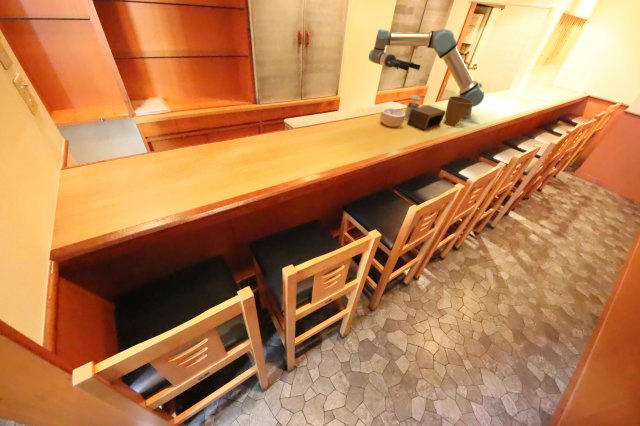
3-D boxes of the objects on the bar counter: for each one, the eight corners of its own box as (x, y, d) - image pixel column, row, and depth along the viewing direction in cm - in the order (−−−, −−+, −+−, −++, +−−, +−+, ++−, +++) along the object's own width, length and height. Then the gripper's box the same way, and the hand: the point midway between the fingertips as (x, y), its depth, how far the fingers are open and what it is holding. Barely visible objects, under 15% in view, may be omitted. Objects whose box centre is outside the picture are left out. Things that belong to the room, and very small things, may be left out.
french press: (417, 118, 174) (430, 79, 158) (414, 122, 166) (428, 82, 150) (403, 115, 177) (415, 76, 161) (400, 119, 168) (412, 79, 152)
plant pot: (436, 122, 170) (446, 98, 160) (443, 118, 179) (453, 95, 169) (458, 129, 163) (469, 104, 153) (464, 124, 172) (475, 100, 162)
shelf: (423, 119, 172) (428, 105, 166) (439, 126, 165) (445, 111, 158) (407, 124, 163) (412, 108, 156) (423, 131, 155) (429, 115, 149)
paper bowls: (376, 125, 156) (379, 112, 151) (381, 118, 167) (384, 106, 162) (400, 130, 152) (404, 117, 147) (403, 123, 163) (407, 111, 158)
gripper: (396, 66, 177) (421, 73, 166) (375, 66, 163) (401, 75, 152) (400, 54, 172) (426, 61, 161) (378, 53, 158) (405, 61, 147)
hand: (414, 68), depth 156 cm, fingers open, 13 cm apart
